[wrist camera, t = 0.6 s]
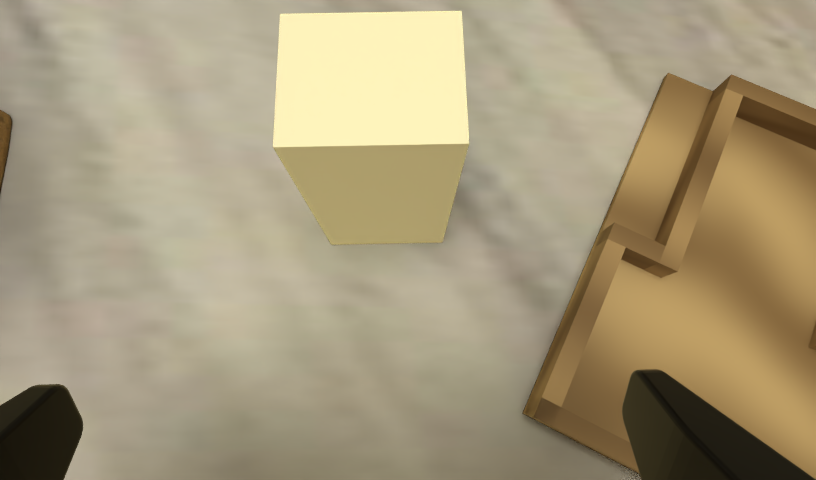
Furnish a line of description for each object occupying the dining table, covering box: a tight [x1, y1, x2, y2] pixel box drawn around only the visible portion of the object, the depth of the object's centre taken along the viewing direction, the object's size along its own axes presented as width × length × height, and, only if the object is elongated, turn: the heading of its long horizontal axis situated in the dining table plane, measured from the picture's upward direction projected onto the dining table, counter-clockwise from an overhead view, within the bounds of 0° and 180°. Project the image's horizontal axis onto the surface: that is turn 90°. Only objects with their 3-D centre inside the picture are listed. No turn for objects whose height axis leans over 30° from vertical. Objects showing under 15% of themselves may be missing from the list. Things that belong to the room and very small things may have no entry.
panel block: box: [273, 11, 469, 245], centre depth 18 cm, size 4×5×10 cm
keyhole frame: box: [523, 73, 816, 479], centre depth 21 cm, size 18×13×2 cm
